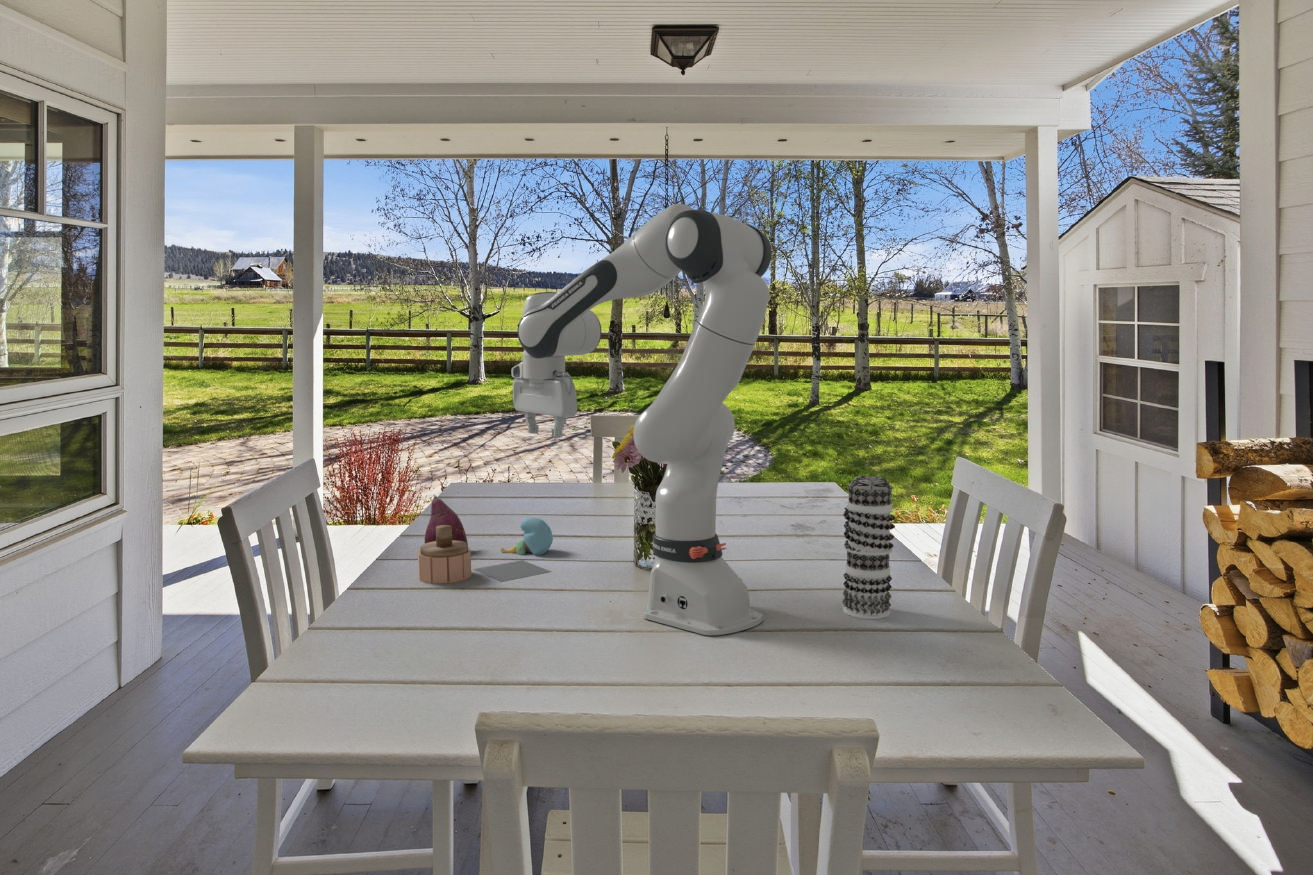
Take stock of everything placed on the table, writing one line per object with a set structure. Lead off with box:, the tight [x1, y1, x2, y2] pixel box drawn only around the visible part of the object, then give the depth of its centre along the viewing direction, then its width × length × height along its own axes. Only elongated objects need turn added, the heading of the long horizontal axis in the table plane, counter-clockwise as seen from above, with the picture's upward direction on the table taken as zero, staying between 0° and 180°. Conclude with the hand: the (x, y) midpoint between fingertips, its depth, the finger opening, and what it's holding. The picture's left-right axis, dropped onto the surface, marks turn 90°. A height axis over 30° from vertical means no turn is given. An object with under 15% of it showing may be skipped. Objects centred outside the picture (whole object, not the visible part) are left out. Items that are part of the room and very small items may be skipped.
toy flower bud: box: [500, 517, 554, 556], centre depth 204 cm, size 7×9×12 cm
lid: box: [419, 525, 469, 557], centre depth 183 cm, size 10×10×5 cm
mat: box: [473, 560, 552, 583], centre depth 189 cm, size 12×12×1 cm
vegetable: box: [423, 495, 469, 544], centre depth 206 cm, size 10×10×15 cm
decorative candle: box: [842, 475, 896, 620], centre depth 162 cm, size 9×9×25 cm
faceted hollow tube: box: [417, 547, 472, 584], centre depth 184 cm, size 10×11×6 cm
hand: (544, 435), depth 189 cm, fingers open, 8 cm apart
